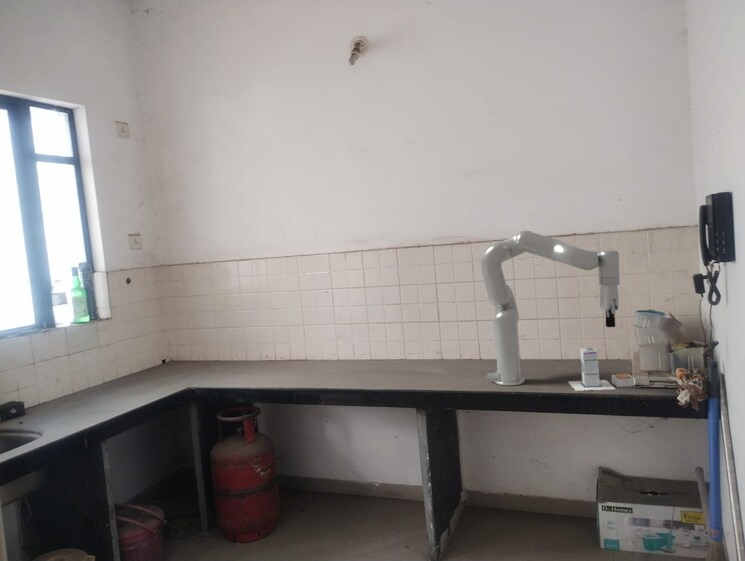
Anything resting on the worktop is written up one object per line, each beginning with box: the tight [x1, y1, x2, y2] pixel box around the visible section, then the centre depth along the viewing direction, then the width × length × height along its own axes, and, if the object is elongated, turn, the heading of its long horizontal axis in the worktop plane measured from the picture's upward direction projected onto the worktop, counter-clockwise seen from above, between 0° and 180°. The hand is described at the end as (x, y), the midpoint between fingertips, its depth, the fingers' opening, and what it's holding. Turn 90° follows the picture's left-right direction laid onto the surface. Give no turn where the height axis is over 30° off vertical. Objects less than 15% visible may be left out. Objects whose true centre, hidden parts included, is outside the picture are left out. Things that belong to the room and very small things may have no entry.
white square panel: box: [567, 379, 617, 392], centre depth 224 cm, size 15×14×1 cm
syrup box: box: [579, 347, 600, 387], centre depth 224 cm, size 6×6×14 cm
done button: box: [615, 373, 632, 379], centre depth 223 cm, size 4×4×2 cm
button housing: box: [611, 374, 635, 388], centre depth 223 cm, size 7×7×3 cm
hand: (610, 326), depth 224 cm, fingers closed
